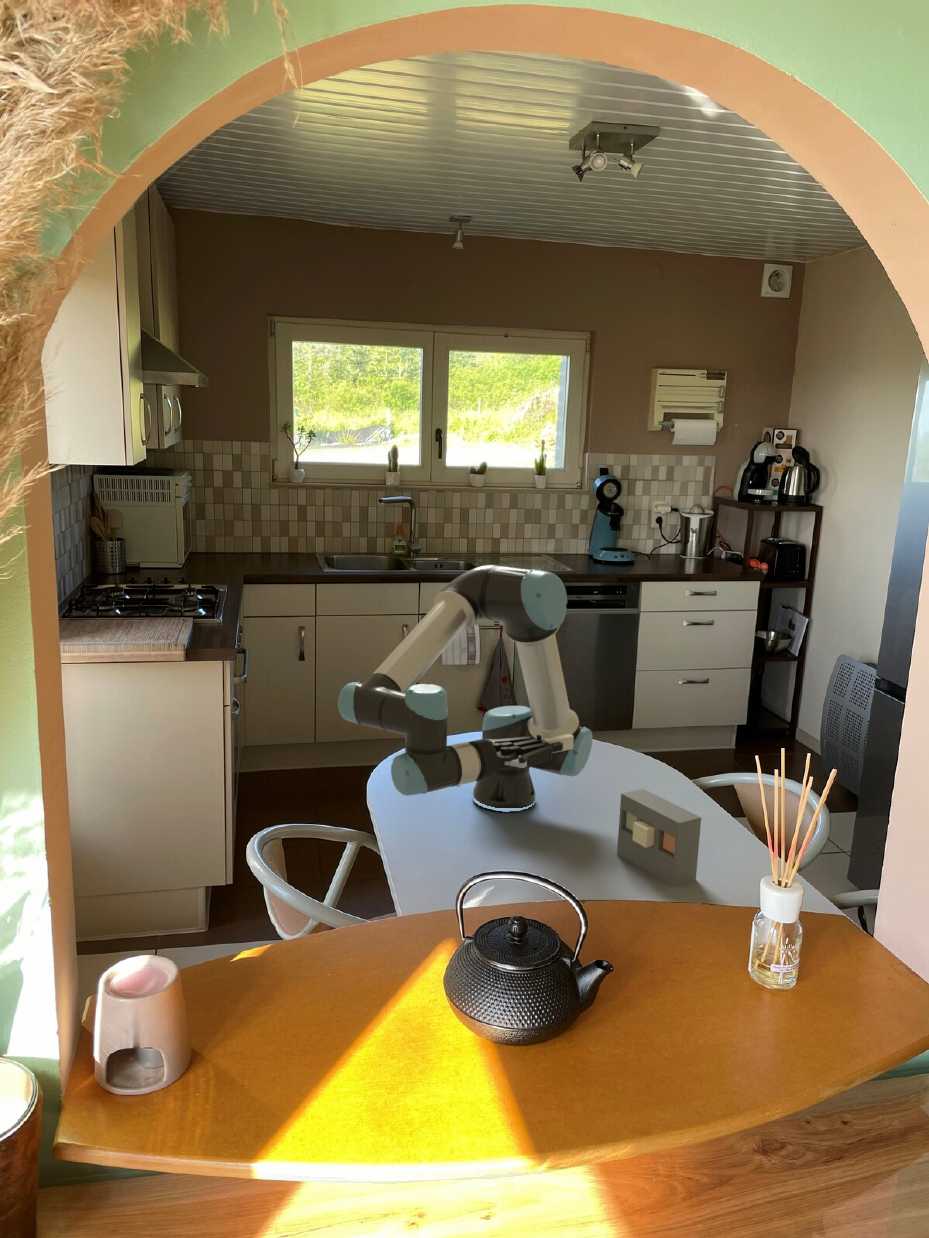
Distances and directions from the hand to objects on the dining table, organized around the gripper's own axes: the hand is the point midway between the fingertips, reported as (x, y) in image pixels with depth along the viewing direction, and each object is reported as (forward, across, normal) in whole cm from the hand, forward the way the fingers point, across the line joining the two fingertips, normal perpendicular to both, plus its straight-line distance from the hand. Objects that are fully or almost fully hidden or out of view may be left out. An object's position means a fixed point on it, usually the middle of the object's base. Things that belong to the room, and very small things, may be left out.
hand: (571, 741), depth 186 cm
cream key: (+13, +10, -21) cm, 26 cm away
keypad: (+16, +10, -28) cm, 33 cm away
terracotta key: (+16, +15, -21) cm, 30 cm away
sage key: (+16, +4, -21) cm, 27 cm away
